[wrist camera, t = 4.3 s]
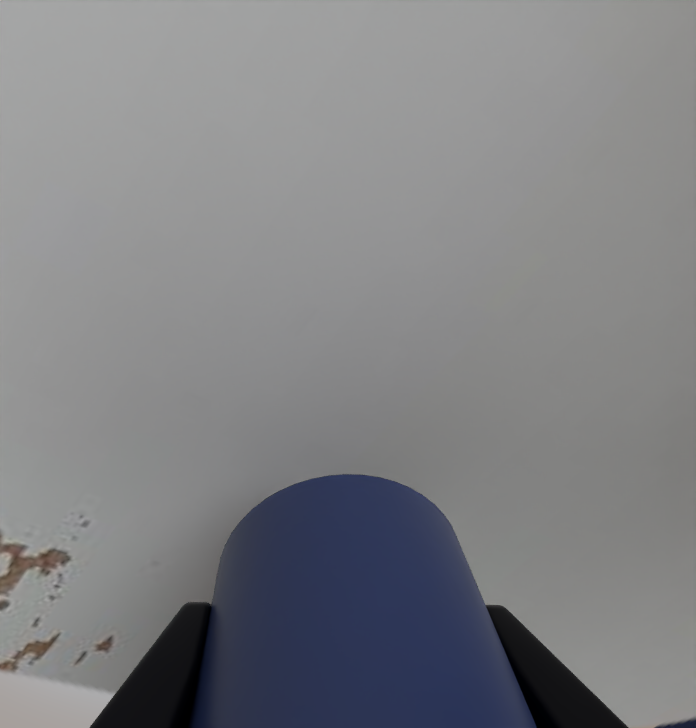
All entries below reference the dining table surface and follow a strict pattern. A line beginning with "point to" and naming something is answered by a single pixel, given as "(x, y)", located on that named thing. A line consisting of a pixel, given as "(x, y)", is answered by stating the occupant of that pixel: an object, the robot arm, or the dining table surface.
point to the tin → (351, 618)
